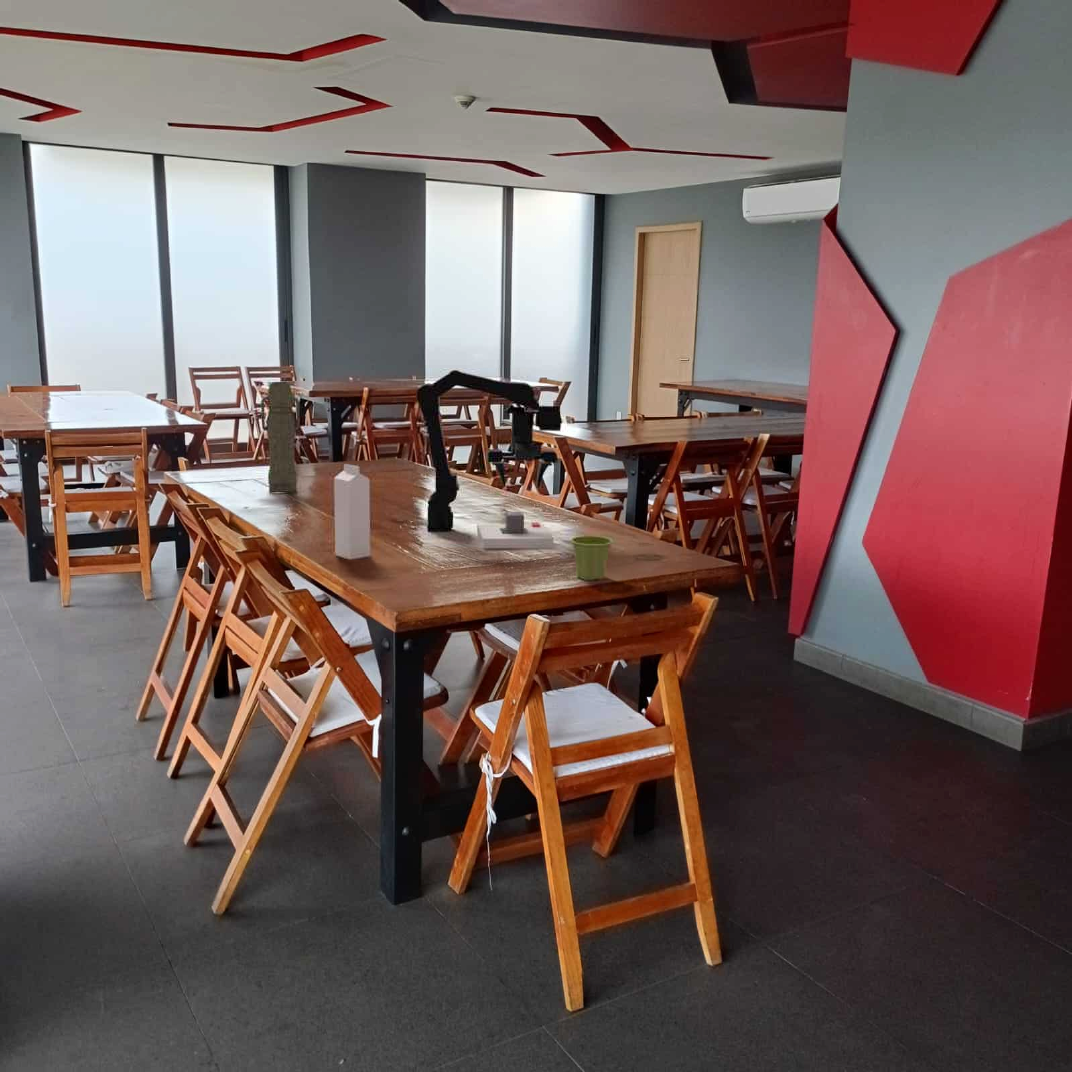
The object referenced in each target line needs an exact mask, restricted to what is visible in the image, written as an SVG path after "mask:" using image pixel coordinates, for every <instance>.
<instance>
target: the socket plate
mask: <svg viewBox="0 0 1072 1072" xmlns="http://www.w3.org/2000/svg"><path fill="white" fill-rule="evenodd" d="M476 534H477V537H478V539H479V542H480V544H481V547H482V549H553V548H554V537H553V536H552V534H551V532H550V531H549V530H548V529H547V527H546V526H545V524H544V523H539V522H530V523H524V534H505V523H477V524H476Z"/></svg>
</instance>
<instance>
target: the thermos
mask: <svg viewBox="0 0 1072 1072" xmlns="http://www.w3.org/2000/svg"><path fill="white" fill-rule="evenodd" d="M265 401H267V407H268V415H267V418H266V420H265V417H266V416H265ZM293 401H295V405H296V409H295V411H296V412H295V413H296V420H295V417H294V411H293V405H294V402H293ZM300 403H301V402H300V400H299V399H298V398H297V397H294V395H293V391H292V387H291V384H290V383H288V381H272V382H271V383H269V386H268V390H267V396H264V397H263V398H262V399H261V401H260V409H261V426H262V427H261V428H262V430H265V431H266V436H267V440H268V453H269V454H268V457H269V469H268V473H267V474H268V475H267V478H268V480H267V483H268V488H269V489H268V492H269V491H270V493H272V492H292V493H295V492H294V491H296V490H297V483H298V476H297V475H298V474H297V471H296V468H295V467H296V466H295V459H296V458H295V439H296V431H298V430H299V429H300V427H301V420H300V419H301V418H300V417H301V416H300V415H301V414H300V412H301V408H300V406H301V405H300ZM265 421H266V422H265ZM265 423H266V425H265ZM296 492H297V491H296Z"/></svg>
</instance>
